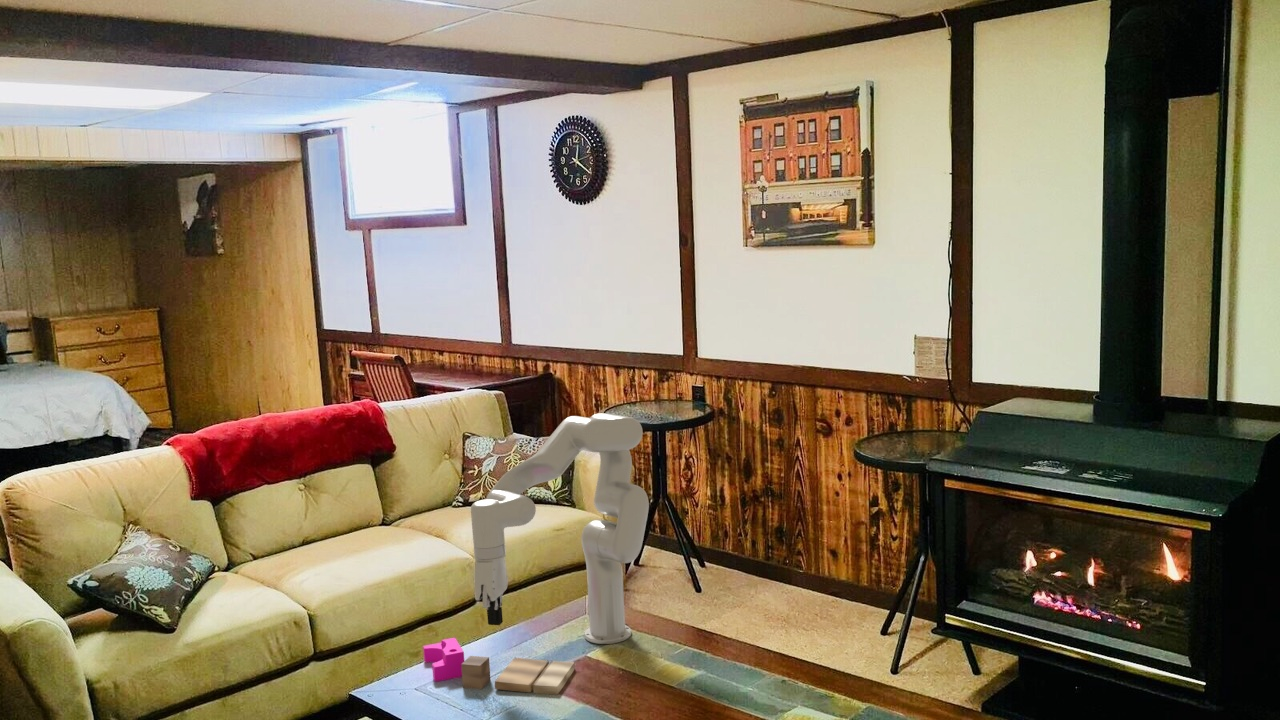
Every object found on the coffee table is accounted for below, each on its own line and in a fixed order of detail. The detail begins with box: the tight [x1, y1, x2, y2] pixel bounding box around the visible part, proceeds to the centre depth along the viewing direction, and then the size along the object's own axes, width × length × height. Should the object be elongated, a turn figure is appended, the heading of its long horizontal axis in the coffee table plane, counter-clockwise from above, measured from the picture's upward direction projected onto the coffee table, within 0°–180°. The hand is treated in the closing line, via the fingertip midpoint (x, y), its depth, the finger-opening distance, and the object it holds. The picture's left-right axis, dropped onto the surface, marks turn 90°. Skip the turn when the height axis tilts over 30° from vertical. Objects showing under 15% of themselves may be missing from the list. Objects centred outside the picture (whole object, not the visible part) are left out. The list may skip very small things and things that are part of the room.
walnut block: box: [461, 655, 491, 690], centre depth 250 cm, size 5×5×6 cm
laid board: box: [532, 660, 576, 696], centre depth 250 cm, size 14×6×2 cm, turn 167°
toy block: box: [422, 637, 465, 682], centre depth 261 cm, size 15×6×8 cm
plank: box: [494, 657, 550, 693], centre depth 252 cm, size 14×9×2 cm, turn 167°
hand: (495, 623), depth 250 cm, fingers closed
